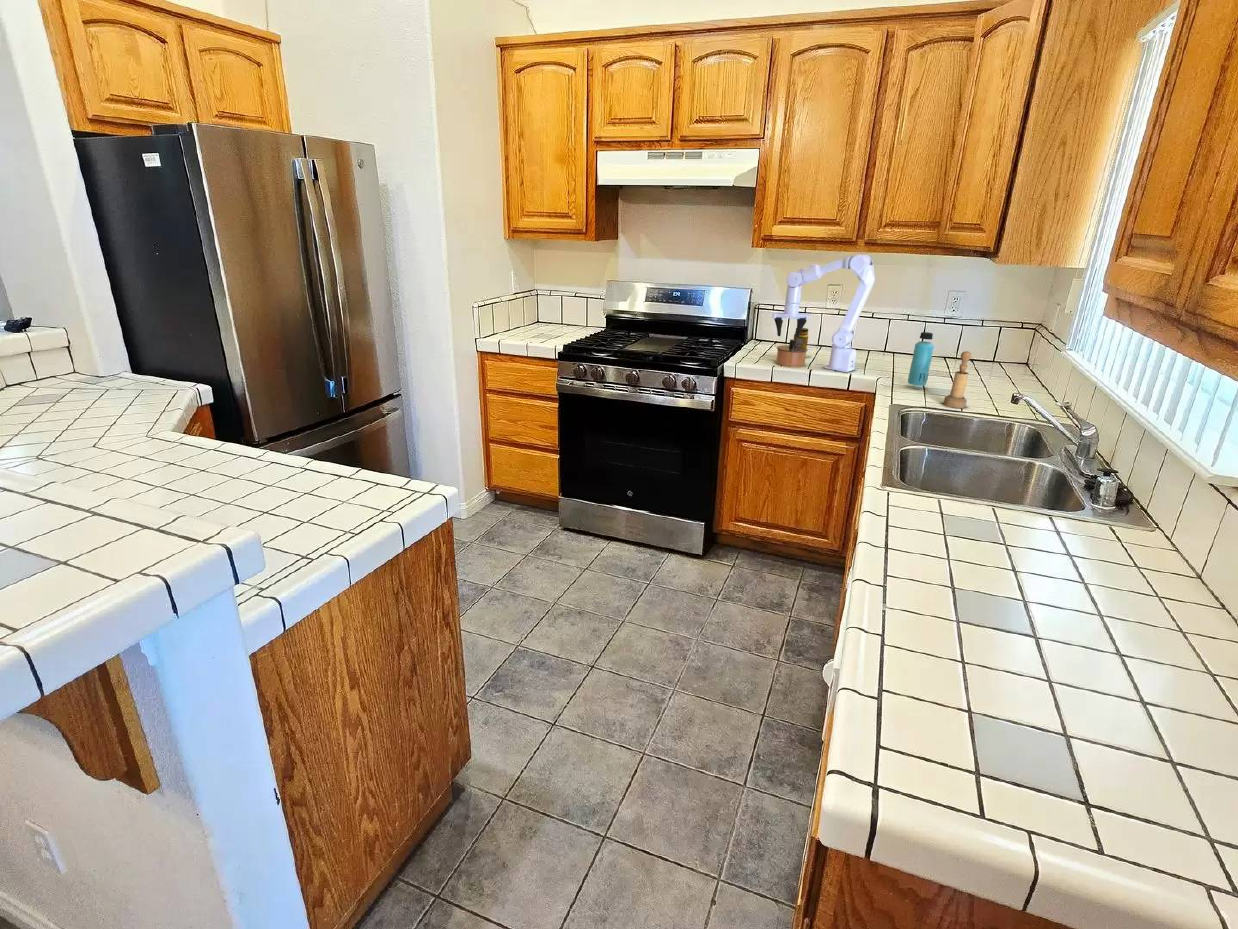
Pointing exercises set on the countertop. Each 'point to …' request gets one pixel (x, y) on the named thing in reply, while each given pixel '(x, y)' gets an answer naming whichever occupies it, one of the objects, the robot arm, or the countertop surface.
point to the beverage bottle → (921, 360)
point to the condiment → (802, 338)
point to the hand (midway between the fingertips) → (788, 336)
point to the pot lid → (792, 347)
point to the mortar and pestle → (959, 385)
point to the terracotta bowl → (790, 358)
